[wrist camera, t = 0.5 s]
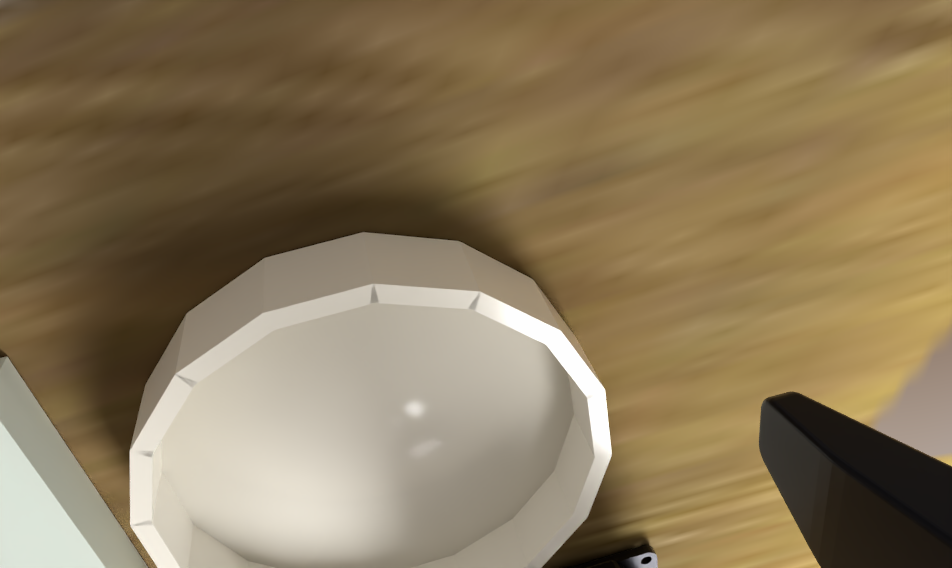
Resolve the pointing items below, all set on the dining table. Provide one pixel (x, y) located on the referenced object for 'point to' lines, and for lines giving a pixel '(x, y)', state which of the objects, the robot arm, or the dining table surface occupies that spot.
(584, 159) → the dining table surface
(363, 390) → the bowl
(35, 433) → the tray
